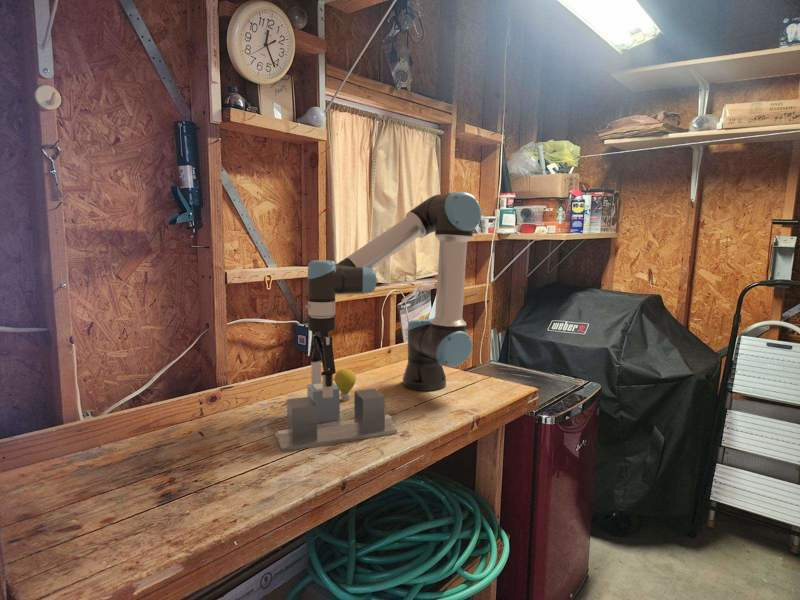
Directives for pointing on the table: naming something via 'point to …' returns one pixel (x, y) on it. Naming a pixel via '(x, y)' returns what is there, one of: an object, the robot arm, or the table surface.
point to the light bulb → (345, 382)
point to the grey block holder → (310, 434)
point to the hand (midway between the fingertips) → (321, 390)
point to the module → (325, 402)
